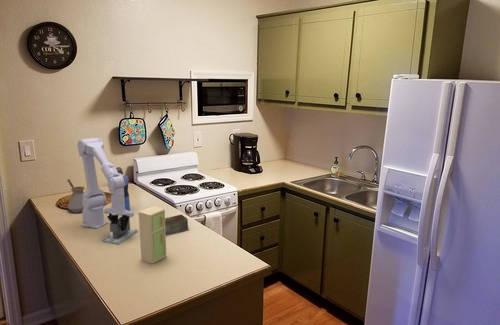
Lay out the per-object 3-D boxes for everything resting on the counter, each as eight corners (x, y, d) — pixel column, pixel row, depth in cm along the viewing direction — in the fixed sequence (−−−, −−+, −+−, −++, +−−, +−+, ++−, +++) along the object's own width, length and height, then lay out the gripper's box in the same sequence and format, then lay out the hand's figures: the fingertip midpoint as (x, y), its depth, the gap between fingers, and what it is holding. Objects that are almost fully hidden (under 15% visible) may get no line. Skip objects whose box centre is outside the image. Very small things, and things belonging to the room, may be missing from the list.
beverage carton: (145, 233, 167) (144, 220, 165) (182, 225, 178) (182, 213, 176) (150, 239, 161) (150, 226, 159) (189, 230, 171) (188, 218, 170)
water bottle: (126, 214, 190) (123, 169, 184) (109, 214, 190) (106, 169, 184) (132, 208, 199) (130, 165, 193) (116, 208, 199) (113, 165, 193)
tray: (102, 241, 157) (101, 231, 156) (121, 229, 170) (121, 220, 169) (119, 244, 155) (118, 234, 154) (137, 232, 168) (137, 222, 167)
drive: (110, 236, 159) (109, 223, 157) (122, 228, 167) (122, 216, 166) (118, 237, 158) (117, 224, 156) (130, 229, 166) (129, 217, 165)
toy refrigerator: (153, 265, 138) (151, 215, 133) (140, 260, 142) (138, 211, 137) (168, 257, 145) (166, 209, 140) (155, 252, 148) (153, 205, 144)
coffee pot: (94, 210, 194) (91, 184, 191) (72, 215, 187) (69, 188, 183) (80, 201, 209) (78, 176, 206) (59, 205, 201) (56, 180, 198)
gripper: (98, 202, 157) (100, 230, 160) (126, 206, 153) (128, 235, 156) (108, 197, 164) (111, 224, 167) (135, 201, 160) (137, 229, 163)
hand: (119, 229), depth 162 cm, fingers closed on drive, 4 cm apart
